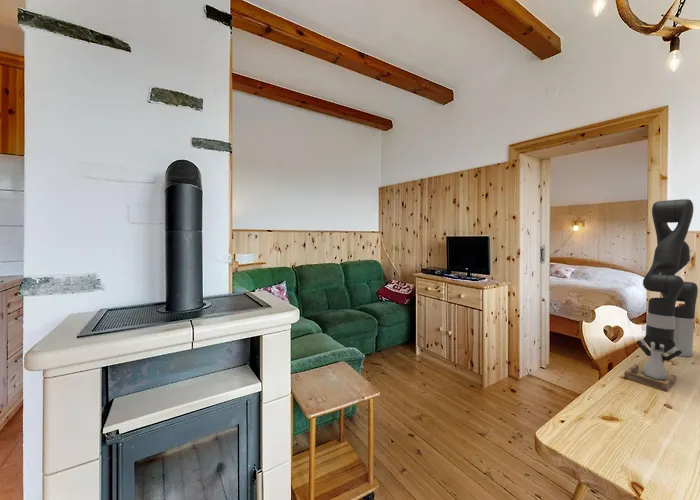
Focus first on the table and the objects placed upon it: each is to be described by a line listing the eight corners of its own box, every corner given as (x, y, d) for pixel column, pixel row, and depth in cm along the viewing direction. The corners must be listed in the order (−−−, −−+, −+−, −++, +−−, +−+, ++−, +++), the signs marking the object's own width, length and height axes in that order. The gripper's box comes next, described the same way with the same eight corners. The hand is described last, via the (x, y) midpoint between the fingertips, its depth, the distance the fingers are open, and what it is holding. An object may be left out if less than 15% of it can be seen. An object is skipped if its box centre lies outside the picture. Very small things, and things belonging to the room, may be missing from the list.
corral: (634, 370, 116) (635, 364, 116) (675, 382, 107) (675, 375, 107) (624, 378, 110) (624, 371, 110) (666, 391, 101) (666, 384, 101)
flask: (654, 371, 115) (656, 347, 115) (674, 380, 108) (676, 354, 107) (636, 371, 115) (637, 346, 115) (654, 380, 108) (656, 354, 107)
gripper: (688, 328, 109) (685, 373, 110) (639, 319, 120) (637, 359, 121) (683, 332, 105) (680, 378, 106) (633, 322, 116) (631, 364, 117)
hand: (657, 368), depth 114 cm, fingers closed
